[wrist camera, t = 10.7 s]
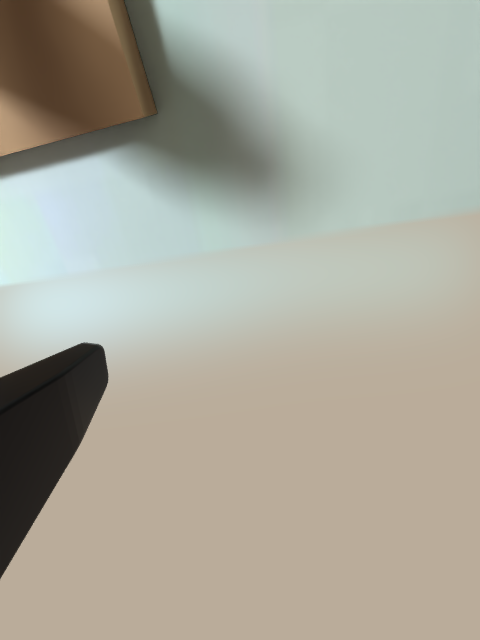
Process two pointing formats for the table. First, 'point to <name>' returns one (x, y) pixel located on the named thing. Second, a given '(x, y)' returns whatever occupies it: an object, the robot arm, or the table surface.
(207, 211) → the table surface
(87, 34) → the walnut board
